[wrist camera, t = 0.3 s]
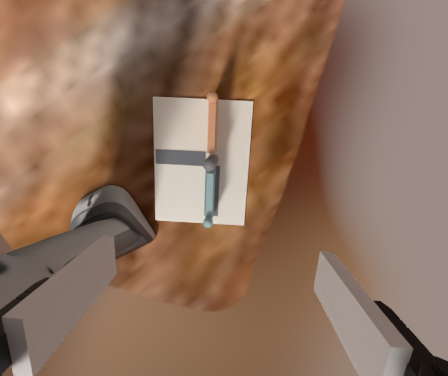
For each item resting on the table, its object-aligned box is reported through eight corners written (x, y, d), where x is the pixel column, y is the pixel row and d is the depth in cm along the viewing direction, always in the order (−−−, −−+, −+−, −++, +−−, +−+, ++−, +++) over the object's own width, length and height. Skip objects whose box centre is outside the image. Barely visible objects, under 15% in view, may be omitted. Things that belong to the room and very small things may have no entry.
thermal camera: (122, 176, 40) (-488, 418, 6) (160, 236, 43) (-124, 649, 9) (68, 204, 42) (-651, 523, 8) (108, 261, 44) (-305, 693, 10)
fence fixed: (208, 153, 39) (203, 158, 32) (218, 154, 39) (216, 158, 32) (206, 213, 41) (201, 229, 34) (216, 213, 41) (213, 229, 34)
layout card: (153, 96, 37) (152, 96, 36) (253, 101, 37) (253, 101, 36) (156, 219, 42) (155, 220, 41) (244, 224, 41) (244, 225, 41)
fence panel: (210, 97, 36) (206, 90, 30) (219, 97, 36) (217, 91, 30) (209, 150, 38) (204, 153, 32) (217, 150, 38) (215, 154, 32)
